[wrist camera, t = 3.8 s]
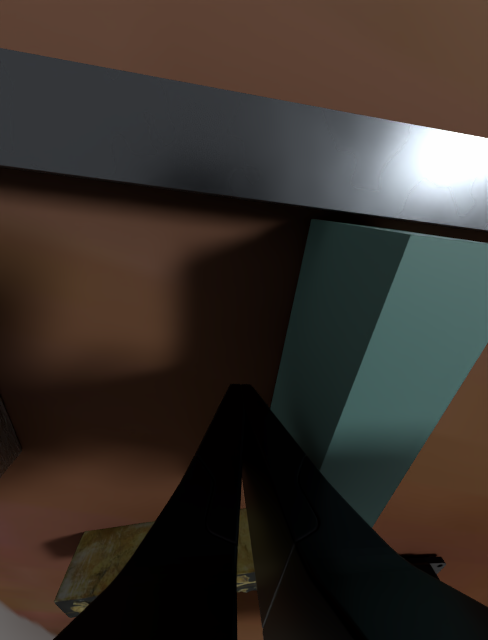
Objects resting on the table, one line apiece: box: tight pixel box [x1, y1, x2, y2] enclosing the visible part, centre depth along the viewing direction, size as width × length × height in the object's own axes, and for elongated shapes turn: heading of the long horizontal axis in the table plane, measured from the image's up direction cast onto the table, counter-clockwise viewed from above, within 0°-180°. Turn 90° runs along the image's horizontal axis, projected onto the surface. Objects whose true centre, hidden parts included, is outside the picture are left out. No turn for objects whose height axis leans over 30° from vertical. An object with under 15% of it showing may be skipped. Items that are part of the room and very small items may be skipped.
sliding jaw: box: [270, 219, 488, 528], centre depth 9 cm, size 12×2×5 cm, turn 173°
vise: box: [0, 48, 488, 477], centre depth 8 cm, size 14×26×5 cm, turn 83°
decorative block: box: [54, 508, 257, 618], centre depth 15 cm, size 15×2×4 cm, turn 95°
